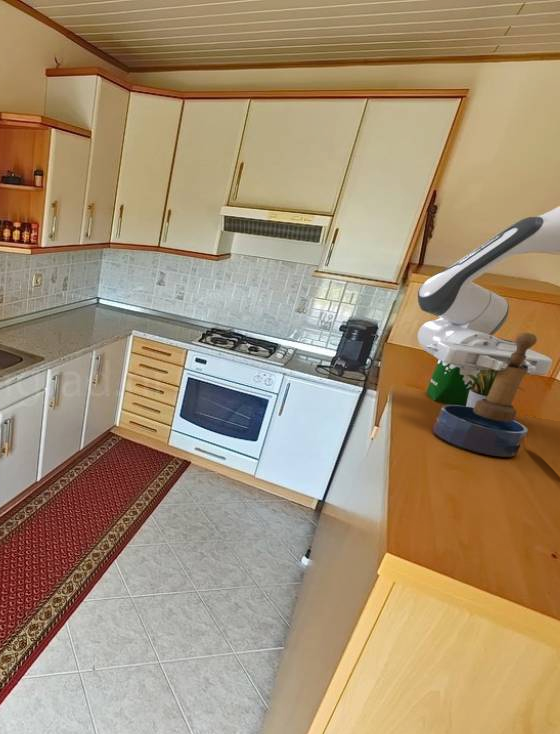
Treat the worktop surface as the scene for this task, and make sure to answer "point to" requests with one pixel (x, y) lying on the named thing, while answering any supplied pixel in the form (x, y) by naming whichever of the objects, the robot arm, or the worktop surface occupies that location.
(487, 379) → the house plant
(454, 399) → the milk carton
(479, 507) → the worktop surface
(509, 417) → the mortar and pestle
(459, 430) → the bowl
